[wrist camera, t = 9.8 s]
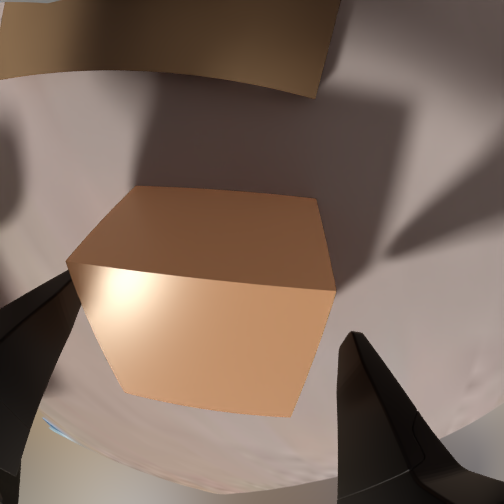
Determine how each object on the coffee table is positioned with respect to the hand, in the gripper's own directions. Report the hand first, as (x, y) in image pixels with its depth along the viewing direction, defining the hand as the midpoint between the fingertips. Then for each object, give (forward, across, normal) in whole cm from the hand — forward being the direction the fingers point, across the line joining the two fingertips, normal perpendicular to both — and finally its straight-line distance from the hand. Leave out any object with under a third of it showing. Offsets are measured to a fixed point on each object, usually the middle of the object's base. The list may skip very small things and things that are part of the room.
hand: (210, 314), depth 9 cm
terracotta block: (+3, 0, 0) cm, 3 cm away
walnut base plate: (+2, +4, -12) cm, 13 cm away
